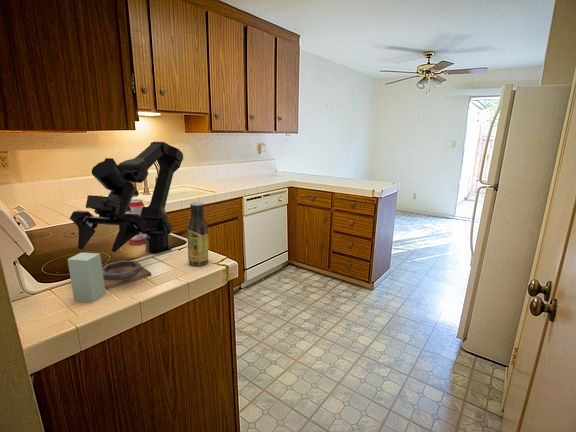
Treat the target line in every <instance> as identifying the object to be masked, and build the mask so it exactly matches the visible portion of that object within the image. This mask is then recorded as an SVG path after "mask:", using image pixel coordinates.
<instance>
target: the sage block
mask: <svg viewBox="0 0 576 432" xmlns="http://www.w3.org/2000/svg"><path fill="white" fill-rule="evenodd" d="M67 266H68V271H69V276H70V278H69V279H70V283H71V289H72V296H73V301H75V302H85V303H95V302H96V301H97V300H99V299H100V298H102V296H103V297H104V295H105V294H106V289H105V286H104V278H103V271H102V267H103V265H102V258H101V253H95V252H80V253H77V254H76V255H73V256H71V257H69V258H67Z"/></svg>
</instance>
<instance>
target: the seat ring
mask: <svg viewBox="0 0 576 432" xmlns="http://www.w3.org/2000/svg"><path fill="white" fill-rule="evenodd" d="M121 266H133V267H134V269H132V270H130V271H126V272H123V273H107V272H108V271H109V270H110V269H114V268H118V267H121ZM141 266H142V264H141V263H139V262H138V261H136V260H123V259H122V260H118V261H113V262H110V263H109V262H108V263H106V264H105V265H104V266H102V271H103V278H104V280H122V279H125V278H129V277H132V276H135V275H136V274H137V273H138V272H139V271H140V270H141V269H142V268H141Z"/></svg>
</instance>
